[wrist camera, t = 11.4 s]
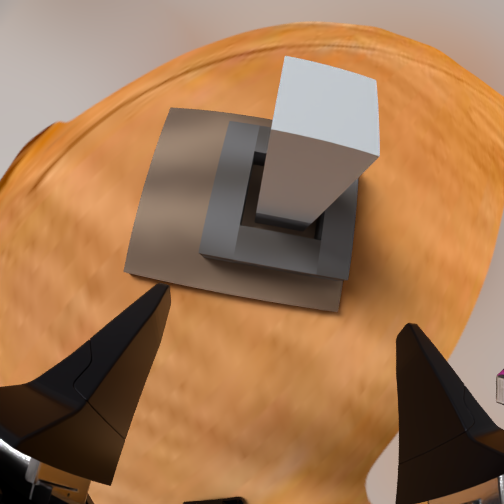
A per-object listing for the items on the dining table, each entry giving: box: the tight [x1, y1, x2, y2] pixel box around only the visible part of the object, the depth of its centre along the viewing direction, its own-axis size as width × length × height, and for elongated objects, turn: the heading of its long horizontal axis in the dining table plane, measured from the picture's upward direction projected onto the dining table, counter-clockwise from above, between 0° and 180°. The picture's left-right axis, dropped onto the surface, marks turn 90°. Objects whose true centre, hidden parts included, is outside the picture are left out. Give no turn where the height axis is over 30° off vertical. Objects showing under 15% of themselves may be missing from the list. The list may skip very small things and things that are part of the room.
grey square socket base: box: [124, 108, 358, 312], centre depth 22 cm, size 16×18×4 cm
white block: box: [255, 56, 380, 232], centre depth 16 cm, size 4×4×14 cm
